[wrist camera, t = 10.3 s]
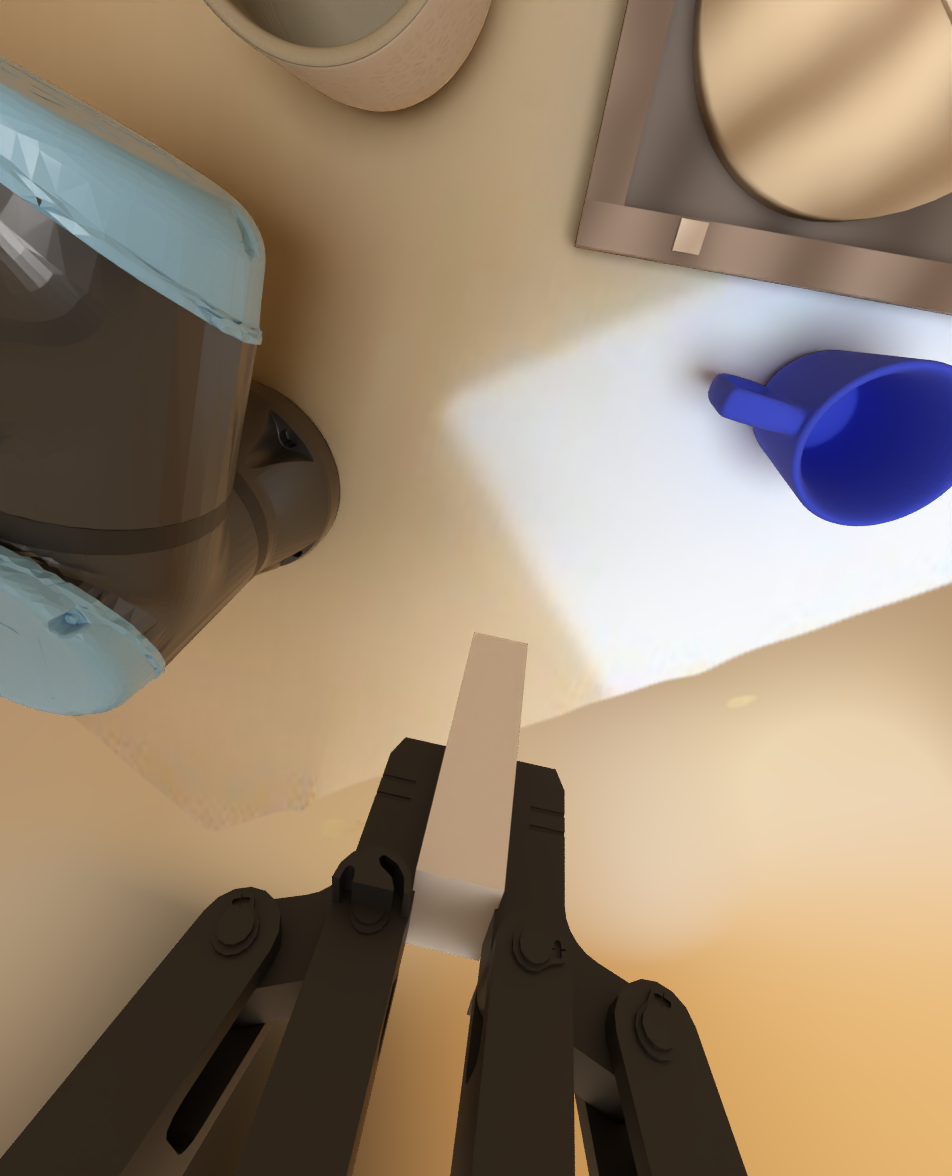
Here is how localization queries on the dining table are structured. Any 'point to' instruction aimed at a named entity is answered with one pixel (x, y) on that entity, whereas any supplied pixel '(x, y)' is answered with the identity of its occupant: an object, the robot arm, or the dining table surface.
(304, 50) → the planter
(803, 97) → the dial
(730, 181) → the brown wooden tray
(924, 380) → the mug
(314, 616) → the dining table surface
